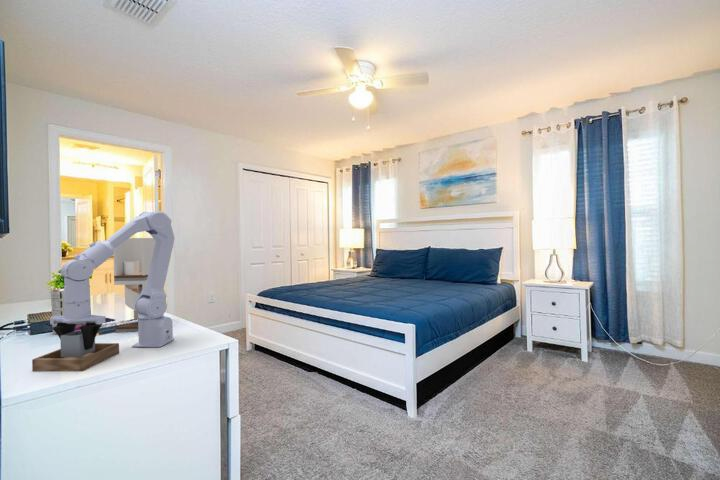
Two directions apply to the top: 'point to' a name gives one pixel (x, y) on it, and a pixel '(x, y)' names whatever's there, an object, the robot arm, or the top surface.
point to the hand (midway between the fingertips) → (78, 348)
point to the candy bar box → (60, 306)
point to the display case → (132, 272)
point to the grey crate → (74, 345)
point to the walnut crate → (75, 359)
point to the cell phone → (109, 320)
